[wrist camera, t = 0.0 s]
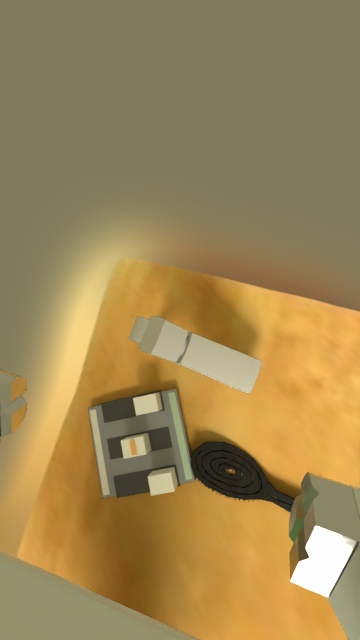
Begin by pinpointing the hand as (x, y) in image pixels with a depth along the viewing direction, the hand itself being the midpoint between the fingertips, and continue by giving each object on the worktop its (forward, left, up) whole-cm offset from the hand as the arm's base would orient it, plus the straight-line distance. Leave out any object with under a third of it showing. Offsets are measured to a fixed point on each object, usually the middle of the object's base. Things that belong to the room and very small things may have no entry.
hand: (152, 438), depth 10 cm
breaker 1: (-1, +13, -53) cm, 54 cm away
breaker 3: (-14, +13, -53) cm, 56 cm away
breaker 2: (-7, +17, -53) cm, 56 cm away
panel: (-7, +17, -54) cm, 57 cm away
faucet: (+6, +3, -55) cm, 55 cm away
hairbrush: (-18, -2, -55) cm, 58 cm away
